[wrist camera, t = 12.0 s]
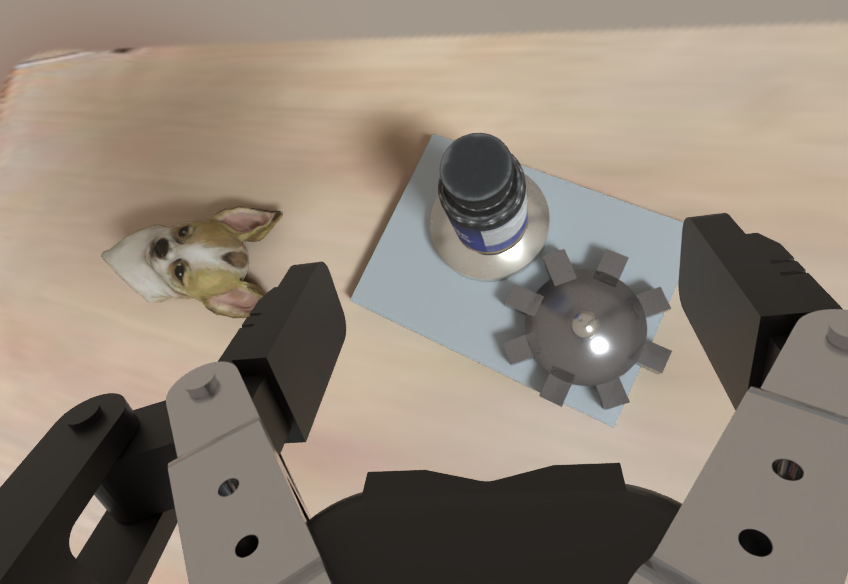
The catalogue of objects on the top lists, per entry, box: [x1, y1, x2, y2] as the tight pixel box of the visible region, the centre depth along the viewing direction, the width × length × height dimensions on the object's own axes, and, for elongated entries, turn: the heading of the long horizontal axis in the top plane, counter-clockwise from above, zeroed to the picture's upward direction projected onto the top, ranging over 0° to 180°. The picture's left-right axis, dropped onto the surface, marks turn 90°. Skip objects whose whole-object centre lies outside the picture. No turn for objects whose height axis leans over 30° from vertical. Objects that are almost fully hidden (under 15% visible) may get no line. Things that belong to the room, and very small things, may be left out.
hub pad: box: [430, 174, 550, 282], centre depth 44 cm, size 10×10×1 cm
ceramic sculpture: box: [101, 207, 283, 318], centre depth 48 cm, size 11×9×15 cm
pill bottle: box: [438, 133, 528, 255], centre depth 38 cm, size 6×6×11 cm
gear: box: [503, 249, 672, 410], centre depth 40 cm, size 13×13×3 cm
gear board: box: [350, 134, 683, 428], centre depth 44 cm, size 24×17×2 cm
